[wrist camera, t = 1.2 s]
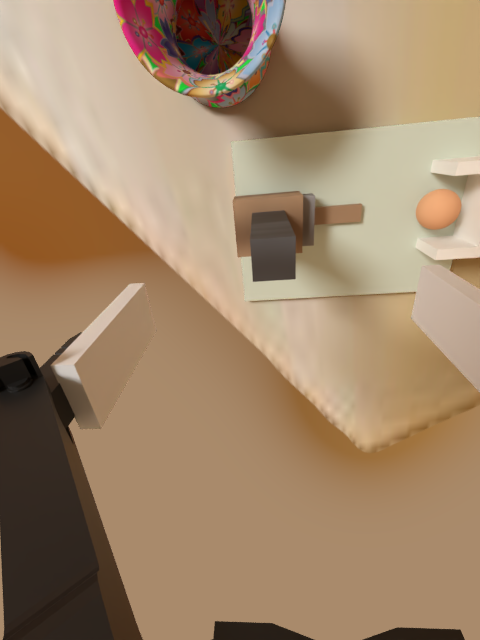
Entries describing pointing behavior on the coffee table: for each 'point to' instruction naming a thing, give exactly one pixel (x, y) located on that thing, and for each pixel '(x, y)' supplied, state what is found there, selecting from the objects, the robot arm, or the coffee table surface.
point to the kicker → (274, 231)
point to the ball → (438, 209)
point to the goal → (473, 221)
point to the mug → (203, 44)
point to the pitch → (356, 202)
